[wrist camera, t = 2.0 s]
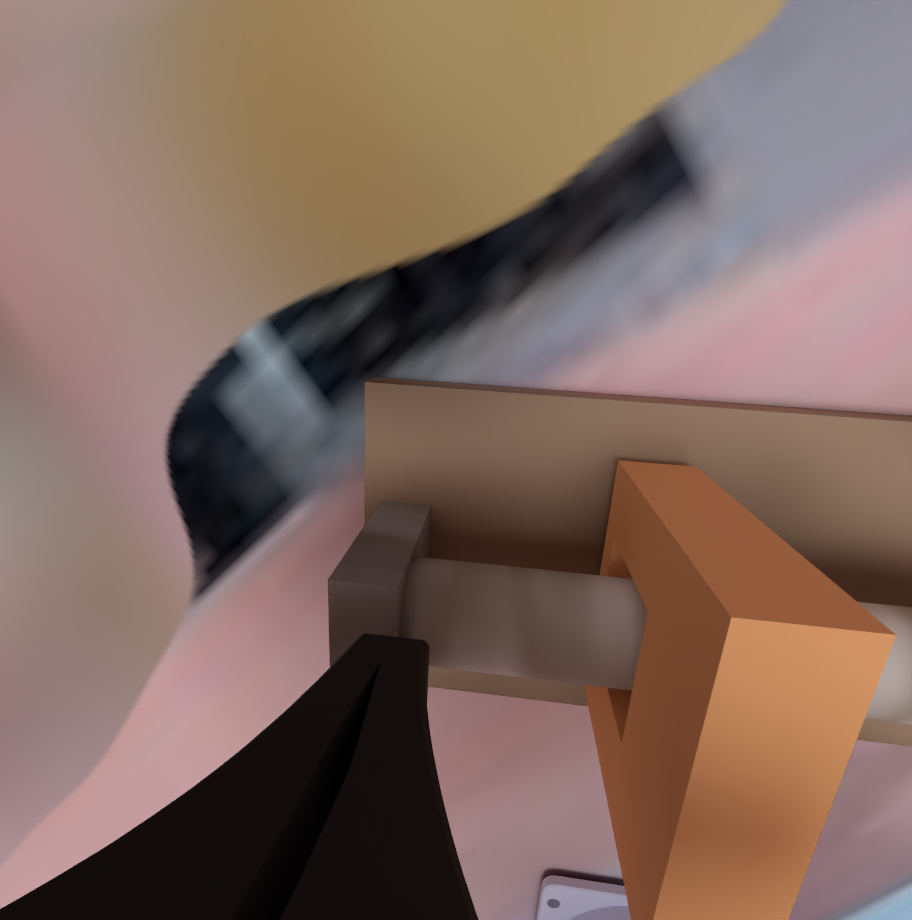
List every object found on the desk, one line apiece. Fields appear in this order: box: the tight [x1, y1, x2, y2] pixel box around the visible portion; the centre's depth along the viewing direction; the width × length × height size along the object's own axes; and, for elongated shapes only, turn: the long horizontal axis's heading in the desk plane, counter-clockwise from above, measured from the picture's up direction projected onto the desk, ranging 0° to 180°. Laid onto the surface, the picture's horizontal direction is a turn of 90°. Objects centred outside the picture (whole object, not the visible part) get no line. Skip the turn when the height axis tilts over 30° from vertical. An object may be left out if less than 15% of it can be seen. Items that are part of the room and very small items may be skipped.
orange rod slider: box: [585, 460, 896, 920], centre depth 11 cm, size 7×2×7 cm, turn 177°
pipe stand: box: [328, 377, 912, 746], centre depth 12 cm, size 10×26×6 cm, turn 87°
